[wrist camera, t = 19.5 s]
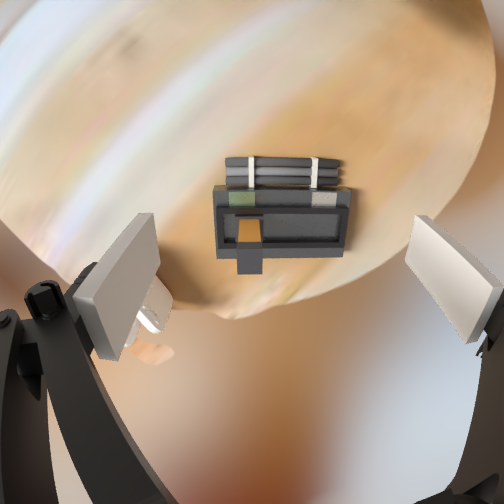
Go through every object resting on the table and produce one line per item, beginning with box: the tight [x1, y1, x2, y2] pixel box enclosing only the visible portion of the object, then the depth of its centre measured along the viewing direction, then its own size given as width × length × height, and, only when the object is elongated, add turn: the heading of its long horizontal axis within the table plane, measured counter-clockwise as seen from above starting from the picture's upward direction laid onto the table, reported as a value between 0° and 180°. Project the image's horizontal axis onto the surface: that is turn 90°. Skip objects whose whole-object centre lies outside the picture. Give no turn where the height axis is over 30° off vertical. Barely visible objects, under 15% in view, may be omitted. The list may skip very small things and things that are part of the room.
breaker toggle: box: [235, 214, 264, 274], centre depth 42 cm, size 4×4×11 cm
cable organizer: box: [124, 275, 173, 347], centre depth 51 cm, size 15×11×12 cm
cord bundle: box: [225, 156, 339, 188], centre depth 46 cm, size 18×5×2 cm, turn 90°
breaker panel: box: [213, 185, 351, 259], centre depth 49 cm, size 22×12×4 cm, turn 90°
